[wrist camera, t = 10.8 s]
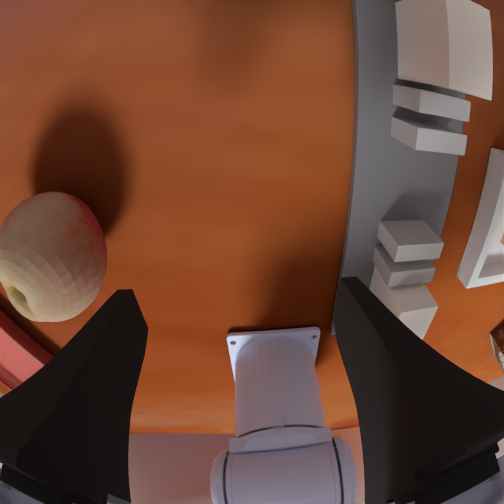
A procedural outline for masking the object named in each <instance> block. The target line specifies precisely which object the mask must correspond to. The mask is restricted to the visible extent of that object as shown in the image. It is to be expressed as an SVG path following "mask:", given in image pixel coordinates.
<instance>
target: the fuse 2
mask: <svg viewBox="0 0 504 504" xmlns="http://www.w3.org/2000/svg"><path fill="white" fill-rule="evenodd" d="M395 8H396V21H397V42H398V79H402V80H407V81H413V82H418V83H422V84H427V85H432V86H436V87H440V88H445V89H449V90H454V91H458V92H462V93H466V94H470V95H473V96H477V97H480V98H484V99H487V100H492V79H493V52H492V32H491V20H490V11H489V10H488V9H486V8H484V7H482V6H480V5H478V4H476V3H474V2H472V1H470V0H402V1H398V2H395Z"/></svg>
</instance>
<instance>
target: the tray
mask: <svg viewBox="0 0 504 504" xmlns="http://www.w3.org/2000/svg"><path fill="white" fill-rule="evenodd" d="M503 233H504V150H500V149H496V148H492V147H491V150H490V156H489V161H488V167H487V172H486V176H485V181H484V185H483V190H482V194H481V198H480V202H479V206H478V209H477V213H476V217H475V220H474V223H473V227H472V230H471V233H470V236H469V239H468V243H467V246H466V248H465V251H464V254H463V257H462V260H461V262H460V265H459V268H458V270H457V273H456V275H457V277H458V278H459V279H460V281H461V282H462V283H463V285H464V286H465V287H466V289H467V288H472V287H478V286H483V285H488V284H493V283H498V282H503V281H504V245H503V244H502V243H501V239H502V236H503Z"/></svg>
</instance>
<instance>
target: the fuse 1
mask: <svg viewBox="0 0 504 504" xmlns="http://www.w3.org/2000/svg"><path fill="white" fill-rule="evenodd" d="M369 289H370V290H371V292H372V293H373V294H374V295H375V296H376V297H377V298H378V299H379V300H380V301H381V302H382V303H383V304H384V305H385V306H386V307H387V308H388V309H389V310H390V311H391V312H392V313H393V314H394V315H395V316H396V317H397V318H398V319H399V320H400V321H402V322H403V323H404V324H405V325H406V326H407V327H408V328H409V329H410V330H411V331H413V332H414V333H415V334H416V335H417V336H418V337H419V338H420V339H423V337H424V336H425V334H426V332H427V330H428V327H429V325H430V323H431V321H432V319H433V317H434V315H435V313H436V311H437V308H438V305H437V303H436V302H435V300H434V298H433V297H432V295H431V294H430V292H429V291H428V289H427V287H426V286H425V284H424V283H419V284H411V285H403V286H395V287H387V286H386V284H385V282H384V280H383V278H382V276H381V275H380V273H379V271H378V269H377V268H376V266H375V267H374V272H373V276H372V280H371V284H370V288H369Z"/></svg>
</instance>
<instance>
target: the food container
mask: <svg viewBox="0 0 504 504" xmlns="http://www.w3.org/2000/svg"><path fill="white" fill-rule="evenodd" d="M490 337H491V342H492V346H493V351H494V355H495V357H496V359H497V361H498V362H499V364H500V366H501V368H502V370H503V372H504V323H503V324H501V325H500V326H498V327H497V328H495V329H494V330H493V331H491V332H490Z"/></svg>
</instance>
